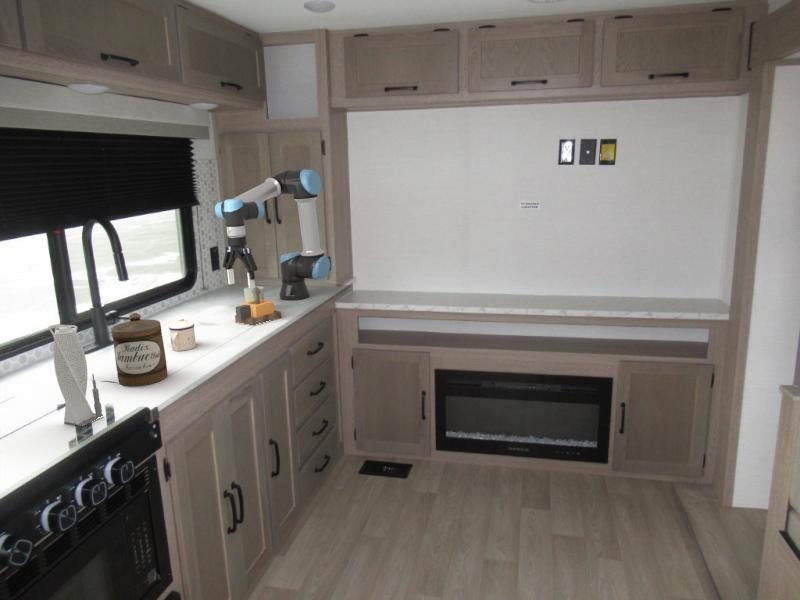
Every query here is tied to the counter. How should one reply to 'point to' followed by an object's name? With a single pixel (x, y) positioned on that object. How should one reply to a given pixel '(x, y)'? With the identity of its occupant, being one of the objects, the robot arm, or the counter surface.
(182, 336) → the teacup with lid
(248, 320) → the keeper base
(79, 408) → the skyscraper
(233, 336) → the counter surface
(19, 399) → the counter surface
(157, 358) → the wooden container
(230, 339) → the counter surface
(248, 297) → the pale green upright block
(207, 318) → the counter surface
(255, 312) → the orange gray open box
